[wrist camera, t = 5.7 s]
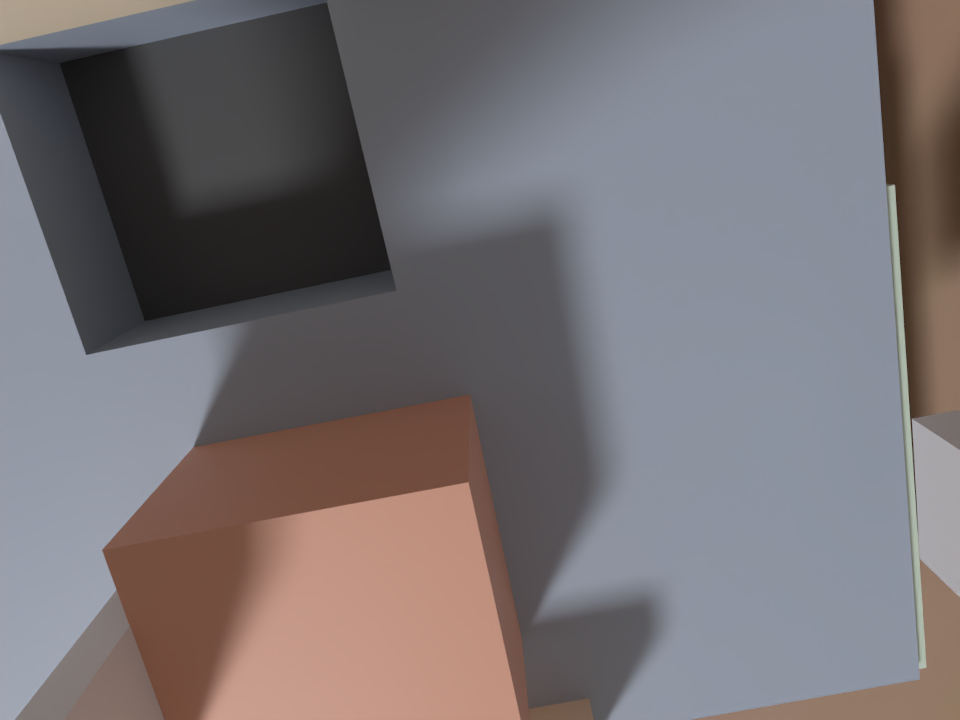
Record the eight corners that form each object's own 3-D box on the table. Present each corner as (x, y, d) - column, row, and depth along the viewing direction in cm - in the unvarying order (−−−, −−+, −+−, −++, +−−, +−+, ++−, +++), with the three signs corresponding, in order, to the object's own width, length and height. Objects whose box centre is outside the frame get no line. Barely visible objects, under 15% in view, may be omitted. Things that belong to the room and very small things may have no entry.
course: (-388, 57, 17) (-851, 18, 11) (798, -221, 15) (993, -433, 10) (-53, 765, 21) (-248, 1000, 16) (868, 598, 20) (1026, 786, 14)
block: (193, 447, 16) (102, 550, 12) (470, 395, 15) (468, 482, 12) (268, 682, 17) (208, 842, 13) (521, 638, 17) (535, 787, 13)
